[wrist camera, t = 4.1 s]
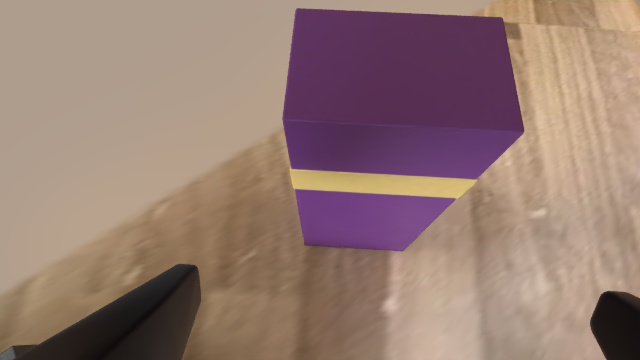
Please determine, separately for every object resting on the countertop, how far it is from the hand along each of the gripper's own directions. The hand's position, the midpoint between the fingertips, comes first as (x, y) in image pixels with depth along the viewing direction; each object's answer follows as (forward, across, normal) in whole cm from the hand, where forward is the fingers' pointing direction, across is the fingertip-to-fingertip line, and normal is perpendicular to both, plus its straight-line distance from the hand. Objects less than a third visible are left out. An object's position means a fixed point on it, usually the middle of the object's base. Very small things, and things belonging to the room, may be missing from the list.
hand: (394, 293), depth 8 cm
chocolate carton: (+12, 0, +4) cm, 13 cm away
